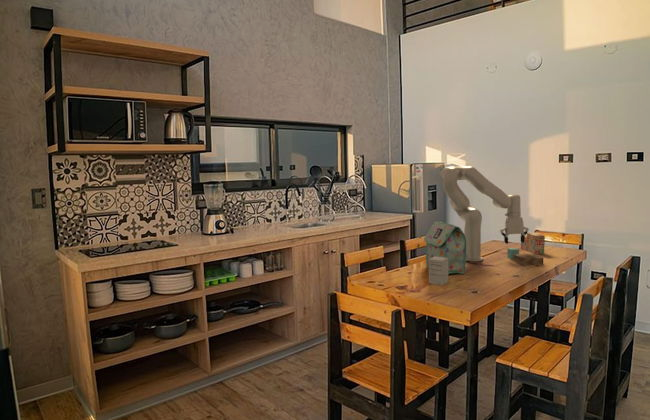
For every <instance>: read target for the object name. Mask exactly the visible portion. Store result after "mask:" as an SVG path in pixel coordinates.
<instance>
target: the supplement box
mask: <svg viewBox="0 0 650 420" xmlns="http://www.w3.org/2000/svg"><path fill="white" fill-rule="evenodd" d="M428 283H431V285H435V284H438V285H437V286H442V285H443V286H444V285H446V284H448V283H449V274H448V258H444V257H433V258H430V259H429V268H428Z"/></svg>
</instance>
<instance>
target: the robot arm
mask: <svg viewBox="0 0 650 420" xmlns="http://www.w3.org/2000/svg"><path fill="white" fill-rule="evenodd" d="M440 177H441V179H442V188H443V191H444V193H445V194H446V196H447V197H448V198H449V205H450V206H451V208H452V209H453V211H455V213H456V214H457V215H458V216H459V218H460V219H461V220H462V221H463V222H465V223H464V231H463V233H464V234H465V237H466V242H467V248H466V262H481V261H484V257H482V256H481V255H482V254H481V253H482V251H481V247H482V246H481V245H482V244H481V242H482V241H481V240H482V239H481V237H482V236H481V235H482V231H481V230H482V221H483V216H482V212H481V211H479V209H477V208H474V207H472V205H470V204H471V202H470V199H469V197H468V196H467V195H466V194H465V192H464V191H462V189H461V187H460V186H459V184H458V181H467V182H468V183H469V184H470V185H472V186H473V187H474V188H475V189H476V191H478V192H479V193H481V194H483V195H485V196H487V197H489V198H491V199H492V204H493V205H494V206H495V207H496V208H500V209H506V211H507V212H506V213H504V215H505V217H506V218H505V223H504V227H503V228H501V229H500V230H499V233H501V234H500V235H502V236H503V239H504V240H503V241H504V244H507V245H508V244H509V237H508V236H509V235H520V243H521V242H522V243H524V241H525V235H527V233H529V231H530V228H528V227H525V226H524V219H523V217H522V216H521V211H522V210H521V196H520V195H519V194H507V193H506V192H504V191H503V190H502V189H501V188H499V187H498V186H497V185H495V184H494V183H493V182H491V181H490V180H489V179H488V178H486V176H484V175H483V174H482V173H481V172H480V171H479V170H478V169H477V168H476V167H474V166H470V165H469V166H468V165H467V166H464V165H463V166H445V167H444V168H442V169H441V171H440Z"/></svg>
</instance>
